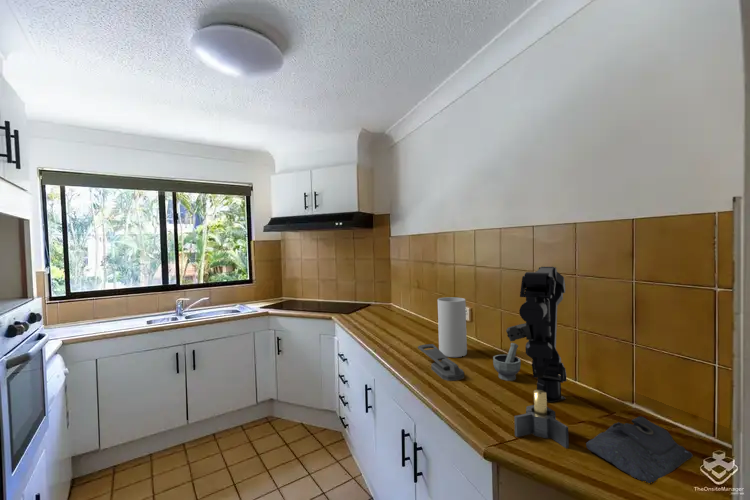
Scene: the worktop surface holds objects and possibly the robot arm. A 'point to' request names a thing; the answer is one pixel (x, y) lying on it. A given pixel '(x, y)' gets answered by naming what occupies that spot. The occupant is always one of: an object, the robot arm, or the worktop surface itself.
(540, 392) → the brass pin
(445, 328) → the cylinder vase
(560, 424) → the grey hollow finned part
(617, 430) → the dark slate chunk
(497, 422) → the worktop surface
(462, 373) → the zipper pull
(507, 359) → the mortar and pestle
